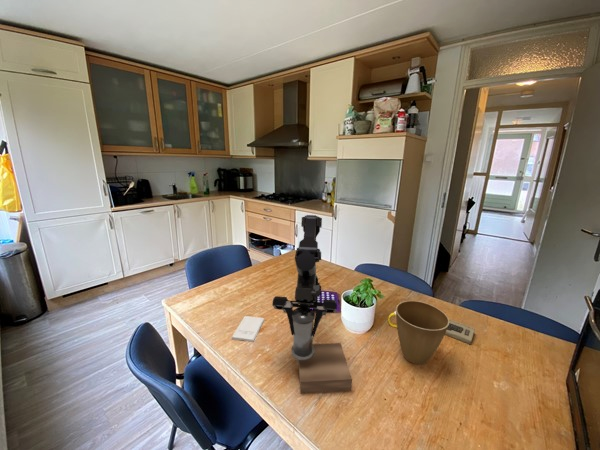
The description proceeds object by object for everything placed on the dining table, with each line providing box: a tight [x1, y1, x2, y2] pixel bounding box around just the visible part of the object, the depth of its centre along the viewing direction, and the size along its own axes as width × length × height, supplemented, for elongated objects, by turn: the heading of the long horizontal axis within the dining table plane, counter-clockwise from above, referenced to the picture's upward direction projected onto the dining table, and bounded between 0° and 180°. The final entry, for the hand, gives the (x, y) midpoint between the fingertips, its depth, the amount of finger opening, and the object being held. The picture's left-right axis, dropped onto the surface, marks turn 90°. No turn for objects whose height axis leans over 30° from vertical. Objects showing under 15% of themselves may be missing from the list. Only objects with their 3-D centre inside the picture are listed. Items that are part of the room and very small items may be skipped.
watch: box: [387, 310, 397, 328], centre depth 96 cm, size 6×3×6 cm, turn 69°
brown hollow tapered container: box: [395, 300, 450, 366], centre depth 80 cm, size 15×15×16 cm
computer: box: [444, 318, 475, 345], centre depth 95 cm, size 16×8×3 cm, turn 50°
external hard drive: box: [231, 315, 265, 343], centre depth 95 cm, size 2×8×12 cm
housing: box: [290, 307, 316, 361], centre depth 73 cm, size 7×7×13 cm
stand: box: [297, 342, 353, 395], centre depth 76 cm, size 14×14×4 cm
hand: (302, 335), depth 72 cm, fingers closed on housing, 6 cm apart
